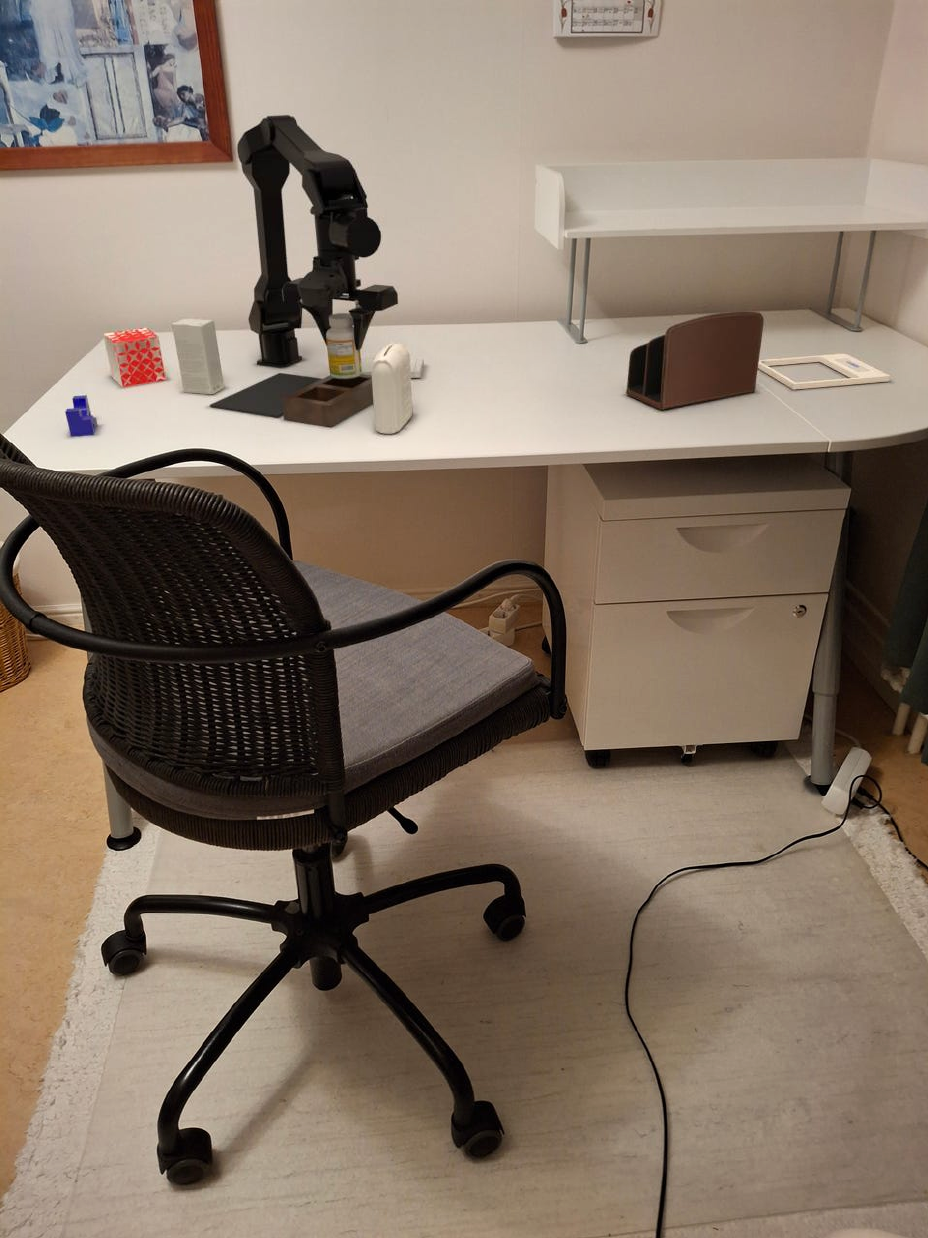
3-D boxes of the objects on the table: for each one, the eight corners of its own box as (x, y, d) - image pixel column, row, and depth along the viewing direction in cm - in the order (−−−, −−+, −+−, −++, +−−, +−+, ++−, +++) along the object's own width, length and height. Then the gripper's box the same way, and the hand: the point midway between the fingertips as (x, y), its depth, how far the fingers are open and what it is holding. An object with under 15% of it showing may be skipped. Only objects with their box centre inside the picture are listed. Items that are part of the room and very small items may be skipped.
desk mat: (210, 407, 162) (209, 404, 162) (279, 374, 178) (279, 372, 177) (278, 417, 157) (277, 415, 157) (344, 383, 172) (343, 381, 172)
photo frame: (890, 374, 166) (794, 382, 163) (889, 381, 167) (793, 389, 164) (845, 352, 179) (755, 359, 176) (844, 358, 179) (754, 365, 176)
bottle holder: (283, 419, 156) (281, 398, 154) (339, 390, 169) (338, 370, 167) (331, 427, 152) (329, 405, 151) (385, 396, 165) (383, 376, 163)
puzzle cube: (166, 380, 176) (158, 336, 172) (122, 387, 173) (113, 343, 169) (154, 369, 182) (146, 327, 178) (112, 376, 179) (103, 333, 175)
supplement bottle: (344, 368, 164) (339, 310, 159) (368, 373, 162) (364, 314, 157) (323, 376, 161) (317, 317, 156) (347, 381, 158) (342, 321, 153)
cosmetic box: (225, 388, 171) (215, 319, 165) (212, 395, 168) (201, 325, 162) (196, 385, 173) (184, 317, 167) (182, 392, 170) (170, 323, 163)
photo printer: (390, 412, 158) (385, 336, 152) (415, 414, 157) (412, 337, 151) (372, 434, 149) (366, 354, 143) (398, 435, 149) (394, 355, 142)
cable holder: (94, 434, 152) (88, 410, 150) (71, 436, 151) (65, 411, 149) (101, 418, 158) (96, 394, 156) (79, 419, 158) (73, 396, 156)
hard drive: (351, 370, 173) (420, 369, 173) (357, 358, 180) (423, 357, 180) (352, 379, 174) (420, 378, 174) (358, 366, 181) (423, 365, 181)
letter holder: (755, 392, 163) (767, 307, 156) (661, 411, 156) (669, 323, 149) (717, 377, 171) (726, 295, 164) (625, 395, 163) (631, 310, 156)
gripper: (256, 252, 148) (268, 354, 156) (359, 261, 141) (366, 367, 149) (297, 240, 157) (307, 337, 165) (397, 248, 150) (402, 348, 158)
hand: (343, 347), depth 159 cm, fingers closed on supplement bottle, 5 cm apart
